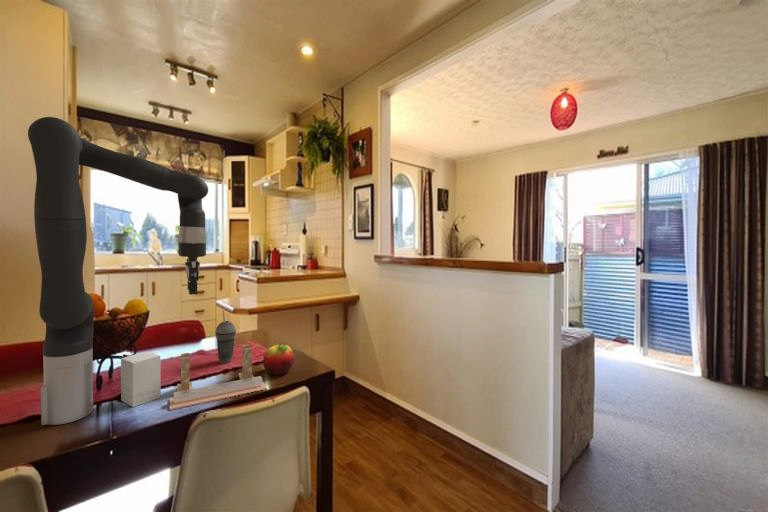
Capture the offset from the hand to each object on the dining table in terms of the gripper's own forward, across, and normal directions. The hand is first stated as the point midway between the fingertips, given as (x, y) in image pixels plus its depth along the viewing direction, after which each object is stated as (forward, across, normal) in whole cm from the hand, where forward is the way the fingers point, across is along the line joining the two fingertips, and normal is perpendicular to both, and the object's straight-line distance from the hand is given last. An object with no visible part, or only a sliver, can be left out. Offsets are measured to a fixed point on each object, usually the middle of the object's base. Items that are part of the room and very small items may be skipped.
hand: (192, 292), depth 105 cm
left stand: (+30, +4, -2) cm, 30 cm away
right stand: (+30, +4, +16) cm, 34 cm away
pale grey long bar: (+30, +12, +7) cm, 33 cm away
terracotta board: (+30, +12, +7) cm, 33 cm away
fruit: (+30, +3, +27) cm, 41 cm away
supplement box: (+30, +4, -13) cm, 33 cm away
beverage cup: (+30, -16, +12) cm, 36 cm away
